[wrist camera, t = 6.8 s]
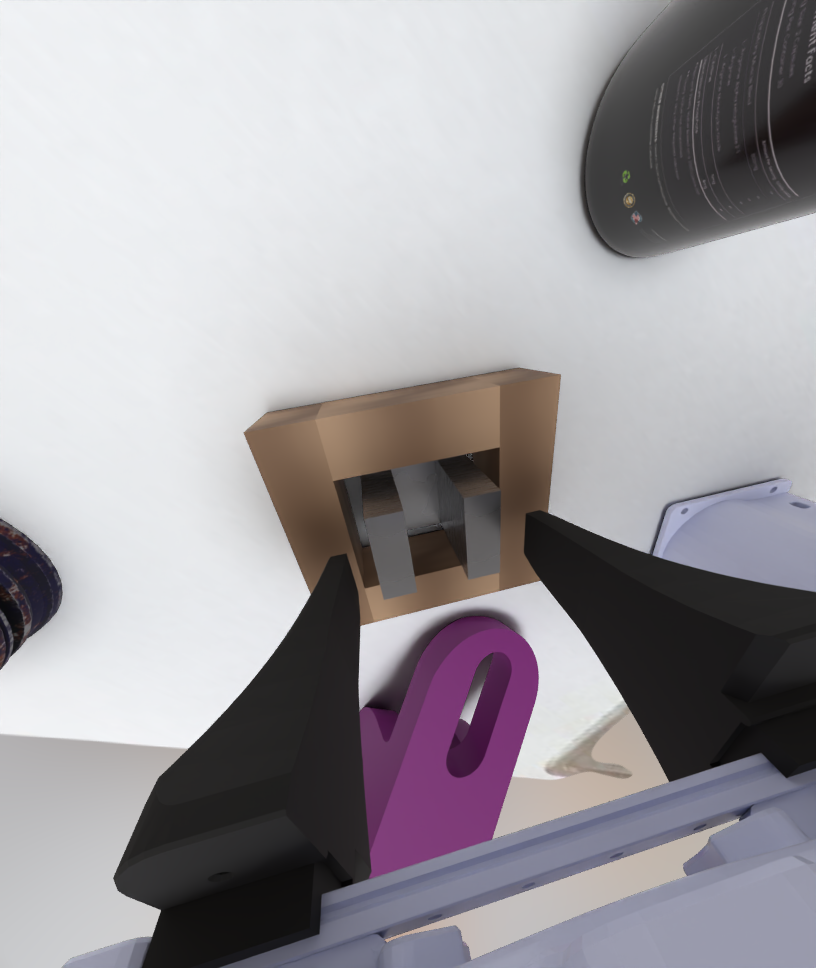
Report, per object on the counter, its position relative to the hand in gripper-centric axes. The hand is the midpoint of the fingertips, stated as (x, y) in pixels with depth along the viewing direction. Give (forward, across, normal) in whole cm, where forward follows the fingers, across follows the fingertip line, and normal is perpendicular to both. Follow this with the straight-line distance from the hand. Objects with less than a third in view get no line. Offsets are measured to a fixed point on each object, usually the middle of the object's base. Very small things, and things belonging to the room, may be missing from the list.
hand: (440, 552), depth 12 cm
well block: (+5, 0, 0) cm, 5 cm away
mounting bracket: (+6, +1, +19) cm, 20 cm away
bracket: (+5, 0, 0) cm, 5 cm away
